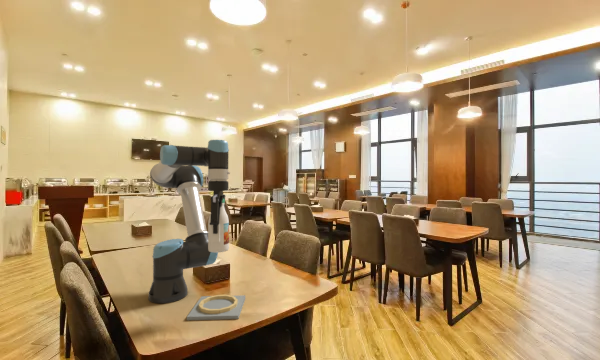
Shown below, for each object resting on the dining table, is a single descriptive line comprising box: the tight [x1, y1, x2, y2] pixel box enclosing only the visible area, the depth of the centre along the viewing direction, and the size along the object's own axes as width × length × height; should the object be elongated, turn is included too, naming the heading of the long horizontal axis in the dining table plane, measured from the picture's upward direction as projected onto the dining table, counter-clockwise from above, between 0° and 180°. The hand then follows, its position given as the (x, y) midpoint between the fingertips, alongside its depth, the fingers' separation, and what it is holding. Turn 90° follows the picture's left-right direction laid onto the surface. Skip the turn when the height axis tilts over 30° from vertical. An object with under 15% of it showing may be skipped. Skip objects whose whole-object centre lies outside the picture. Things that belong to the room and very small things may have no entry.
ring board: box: [186, 294, 246, 321], centre depth 112 cm, size 18×18×2 cm
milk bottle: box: [207, 198, 230, 253], centre depth 112 cm, size 8×8×20 cm
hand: (218, 239), depth 112 cm, fingers closed on milk bottle, 8 cm apart
